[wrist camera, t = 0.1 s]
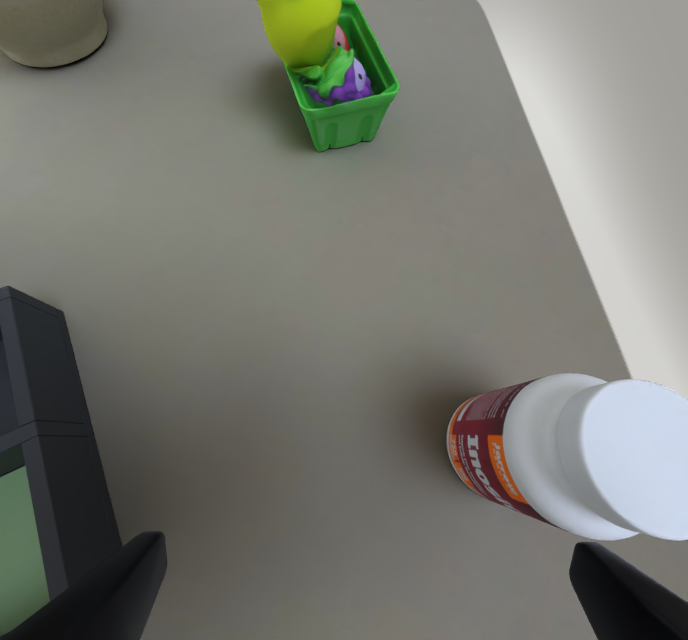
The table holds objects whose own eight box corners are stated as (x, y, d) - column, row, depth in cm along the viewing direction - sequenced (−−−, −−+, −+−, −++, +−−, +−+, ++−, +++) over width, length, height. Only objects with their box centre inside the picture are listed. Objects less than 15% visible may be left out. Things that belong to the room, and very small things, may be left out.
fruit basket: (392, 148, 29) (428, -24, 18) (293, 170, 27) (268, 1, 17) (351, 62, 32) (360, -124, 22) (261, 79, 31) (224, -109, 20)
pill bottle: (422, 441, 21) (513, 442, 10) (486, 375, 22) (621, 318, 12) (500, 527, 19) (700, 631, 9) (563, 450, 21) (795, 460, 10)
